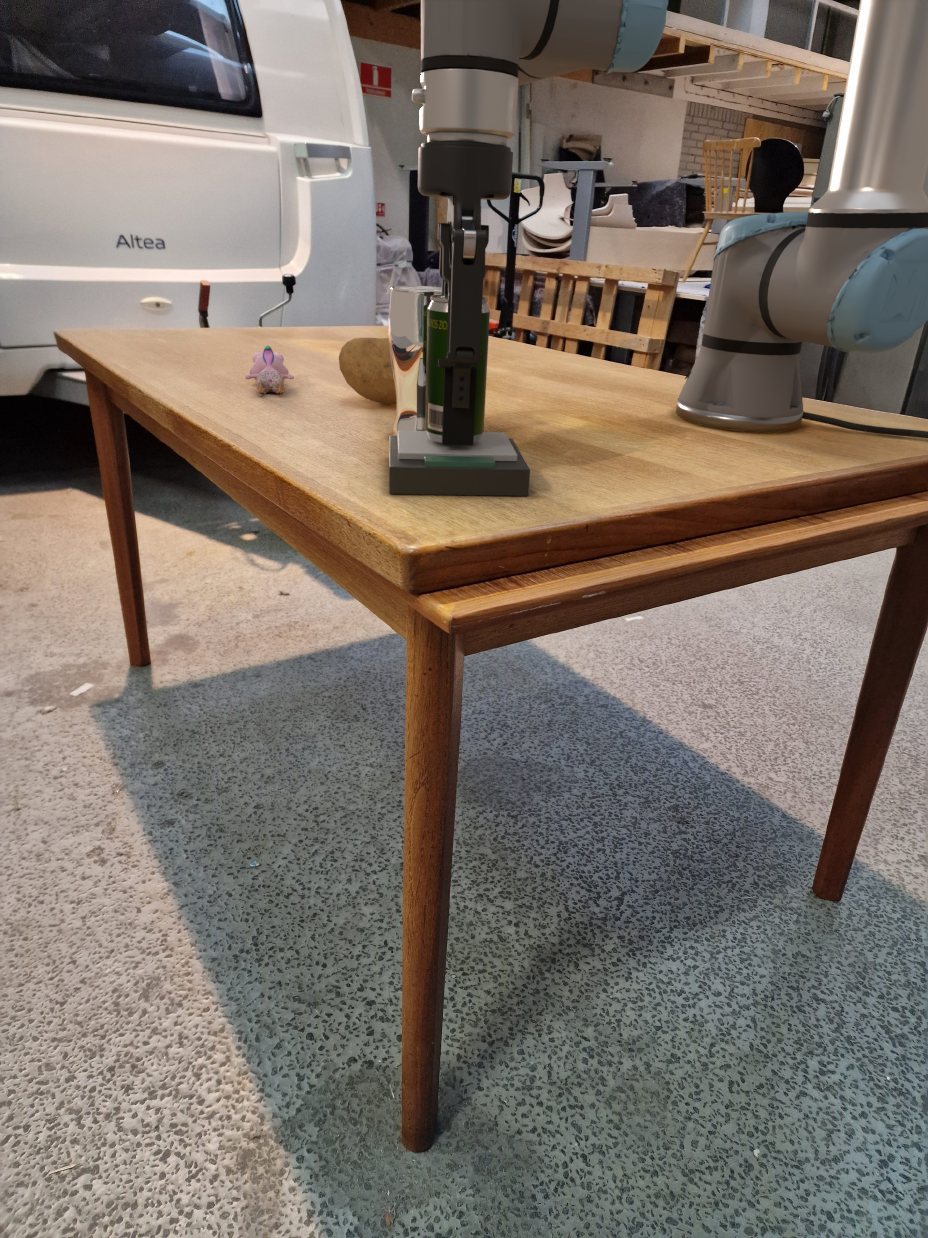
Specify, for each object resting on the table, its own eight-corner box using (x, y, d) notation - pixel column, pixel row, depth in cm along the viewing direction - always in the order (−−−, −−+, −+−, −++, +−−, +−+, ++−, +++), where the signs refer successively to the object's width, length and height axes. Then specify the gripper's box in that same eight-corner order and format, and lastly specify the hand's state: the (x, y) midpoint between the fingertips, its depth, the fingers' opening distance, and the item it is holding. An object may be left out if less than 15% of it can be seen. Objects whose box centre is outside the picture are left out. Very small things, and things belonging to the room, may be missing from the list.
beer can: (466, 448, 71) (472, 301, 66) (413, 438, 74) (415, 296, 68) (493, 436, 76) (501, 297, 70) (443, 428, 78) (447, 293, 73)
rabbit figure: (296, 406, 106) (290, 367, 118) (294, 360, 102) (288, 325, 114) (246, 406, 104) (245, 367, 116) (243, 360, 101) (242, 324, 113)
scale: (511, 462, 81) (513, 432, 79) (528, 496, 71) (530, 462, 70) (389, 460, 80) (389, 429, 78) (389, 494, 70) (389, 459, 68)
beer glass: (445, 448, 84) (450, 292, 78) (380, 442, 86) (379, 288, 79) (458, 433, 91) (464, 287, 84) (398, 428, 92) (399, 284, 85)
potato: (456, 411, 101) (458, 343, 97) (341, 411, 98) (339, 341, 95) (444, 395, 110) (446, 333, 106) (338, 395, 107) (336, 330, 104)
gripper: (415, 147, 72) (411, 412, 82) (423, 127, 56) (417, 461, 66) (499, 152, 73) (485, 414, 83) (531, 133, 57) (509, 463, 67)
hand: (455, 434), depth 75 cm, fingers closed on beer can, 5 cm apart
